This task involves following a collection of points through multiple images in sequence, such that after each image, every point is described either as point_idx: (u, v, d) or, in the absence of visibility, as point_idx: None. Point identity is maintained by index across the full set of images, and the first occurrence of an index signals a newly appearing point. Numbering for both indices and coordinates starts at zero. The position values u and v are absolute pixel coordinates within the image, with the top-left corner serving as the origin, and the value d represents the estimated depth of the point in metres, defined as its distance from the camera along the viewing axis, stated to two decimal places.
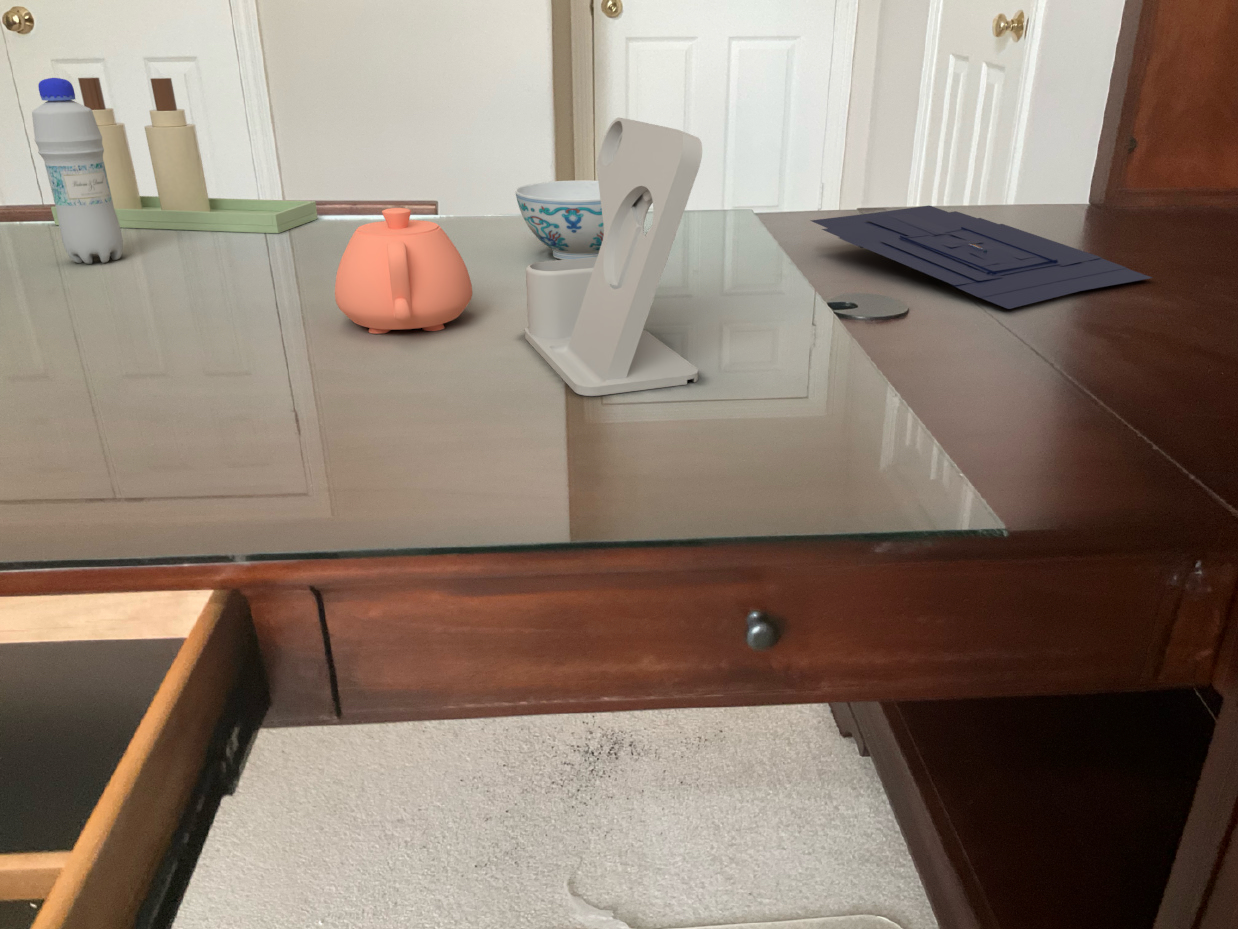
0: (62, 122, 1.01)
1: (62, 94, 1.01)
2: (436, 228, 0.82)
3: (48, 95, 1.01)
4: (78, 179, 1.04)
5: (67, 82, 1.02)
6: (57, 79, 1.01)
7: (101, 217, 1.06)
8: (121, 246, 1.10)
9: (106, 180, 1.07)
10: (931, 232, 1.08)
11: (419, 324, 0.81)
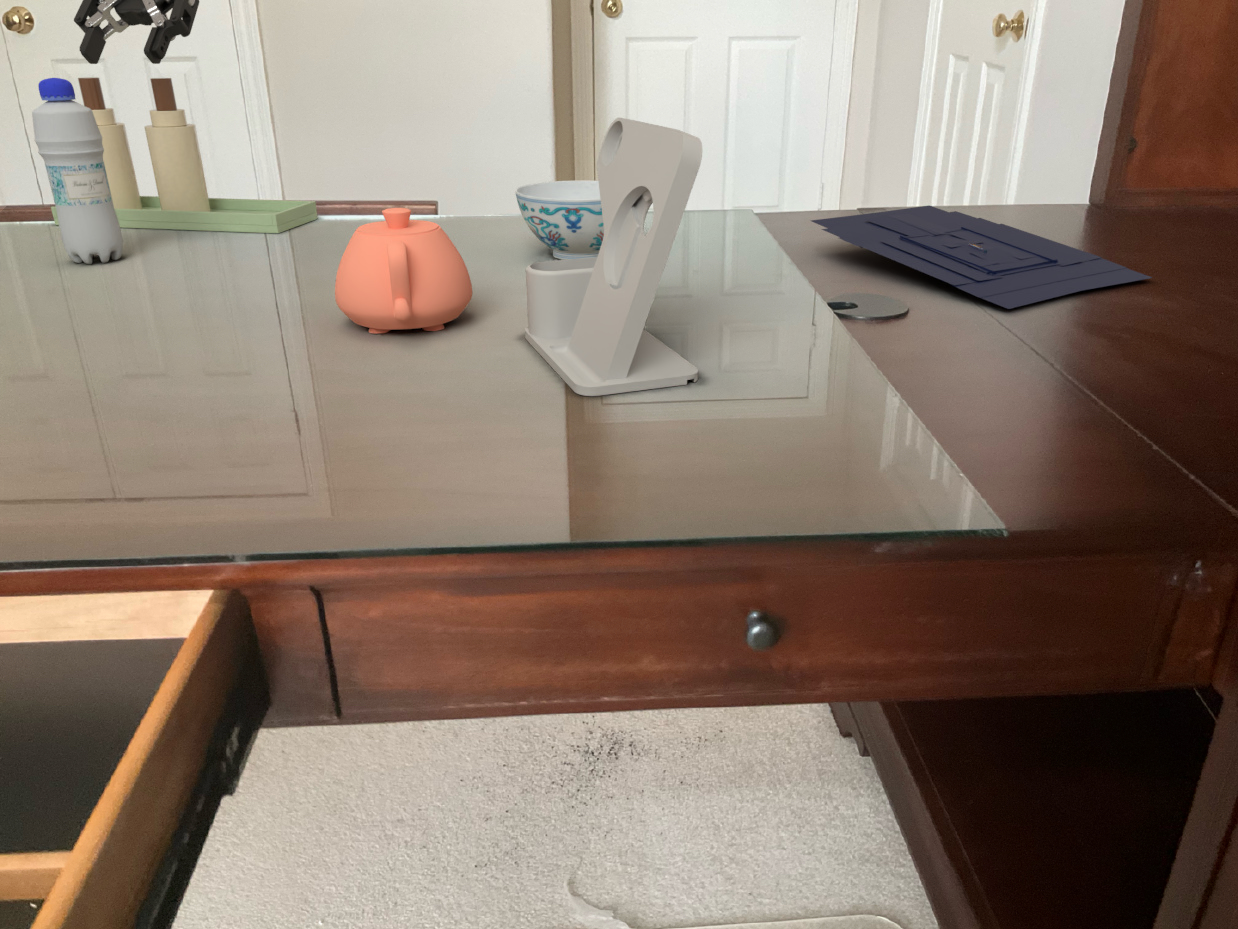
0: (62, 122, 1.01)
1: (62, 94, 1.01)
2: (436, 228, 0.82)
3: (48, 95, 1.01)
4: (78, 179, 1.04)
5: (67, 82, 1.02)
6: (57, 79, 1.01)
7: (101, 217, 1.06)
8: (121, 246, 1.10)
9: (106, 180, 1.07)
10: (931, 232, 1.08)
11: (419, 324, 0.81)
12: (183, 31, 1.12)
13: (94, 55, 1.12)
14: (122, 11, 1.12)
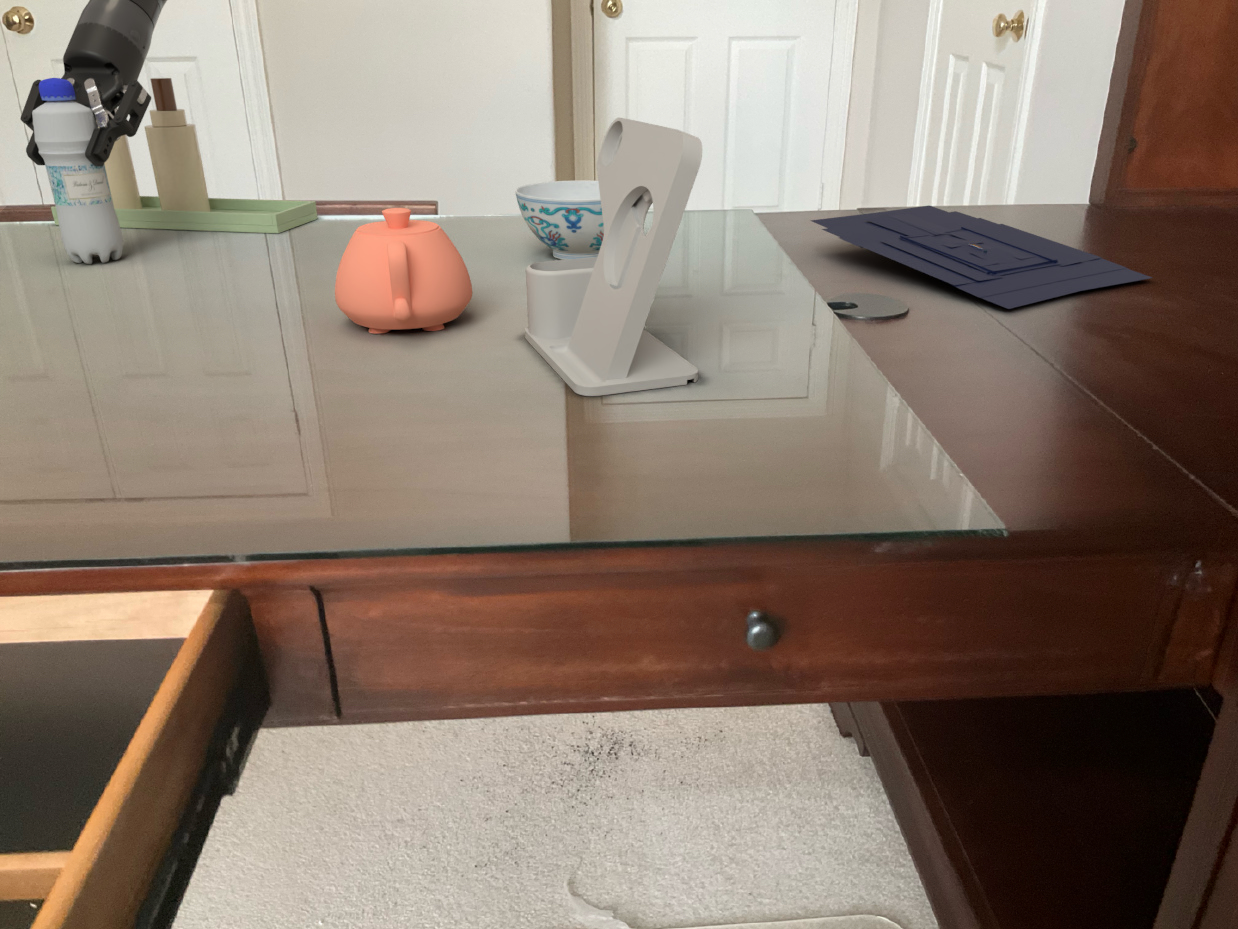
0: (62, 122, 1.01)
1: (62, 94, 1.01)
2: (436, 228, 0.82)
3: (48, 95, 1.01)
4: (78, 179, 1.04)
5: (67, 82, 1.02)
6: (57, 79, 1.01)
7: (101, 218, 1.06)
8: (121, 246, 1.10)
9: (106, 180, 1.07)
10: (931, 232, 1.08)
11: (419, 324, 0.81)
12: (128, 131, 1.05)
13: None
14: None
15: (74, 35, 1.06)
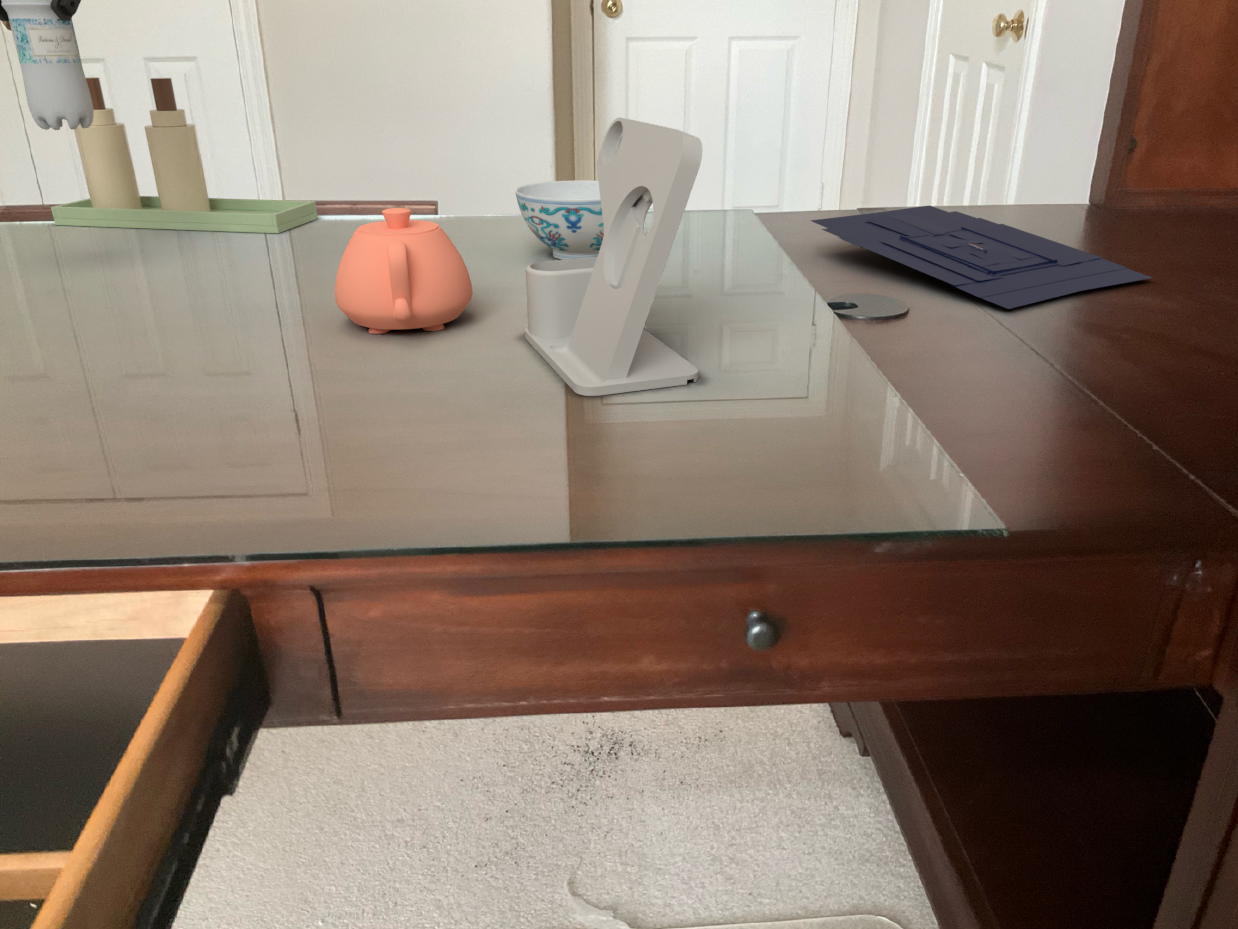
0: None
1: None
2: (436, 228, 0.82)
3: None
4: (43, 33, 0.98)
5: None
6: None
7: (69, 79, 1.00)
8: (91, 113, 1.04)
9: (74, 39, 1.01)
10: (931, 232, 1.08)
11: (419, 324, 0.81)
12: None
13: None
14: None
15: None
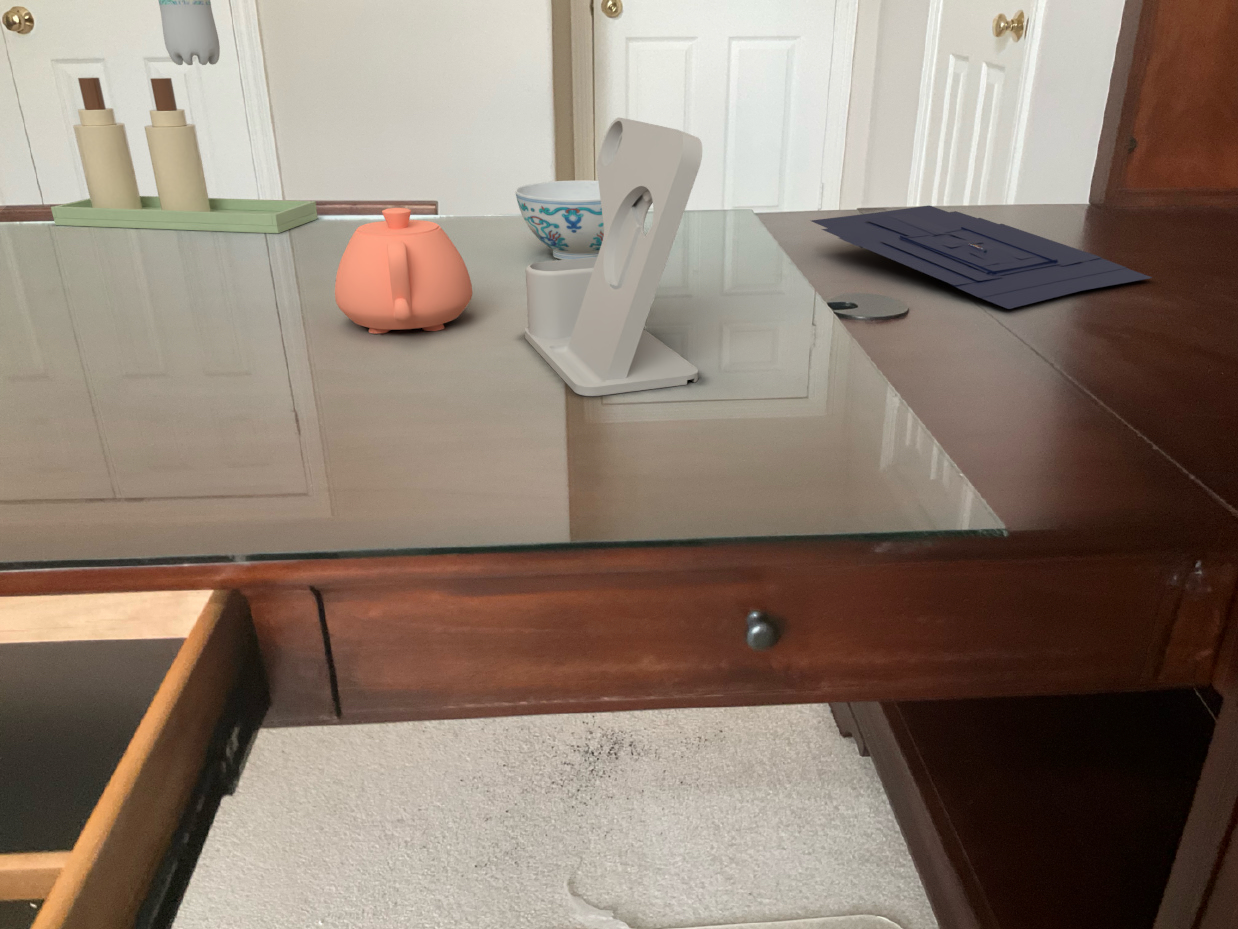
0: None
1: None
2: (436, 228, 0.82)
3: None
4: None
5: None
6: None
7: (202, 19, 1.14)
8: (218, 51, 1.17)
9: None
10: (931, 232, 1.08)
11: (419, 324, 0.81)
12: None
13: None
14: None
15: None
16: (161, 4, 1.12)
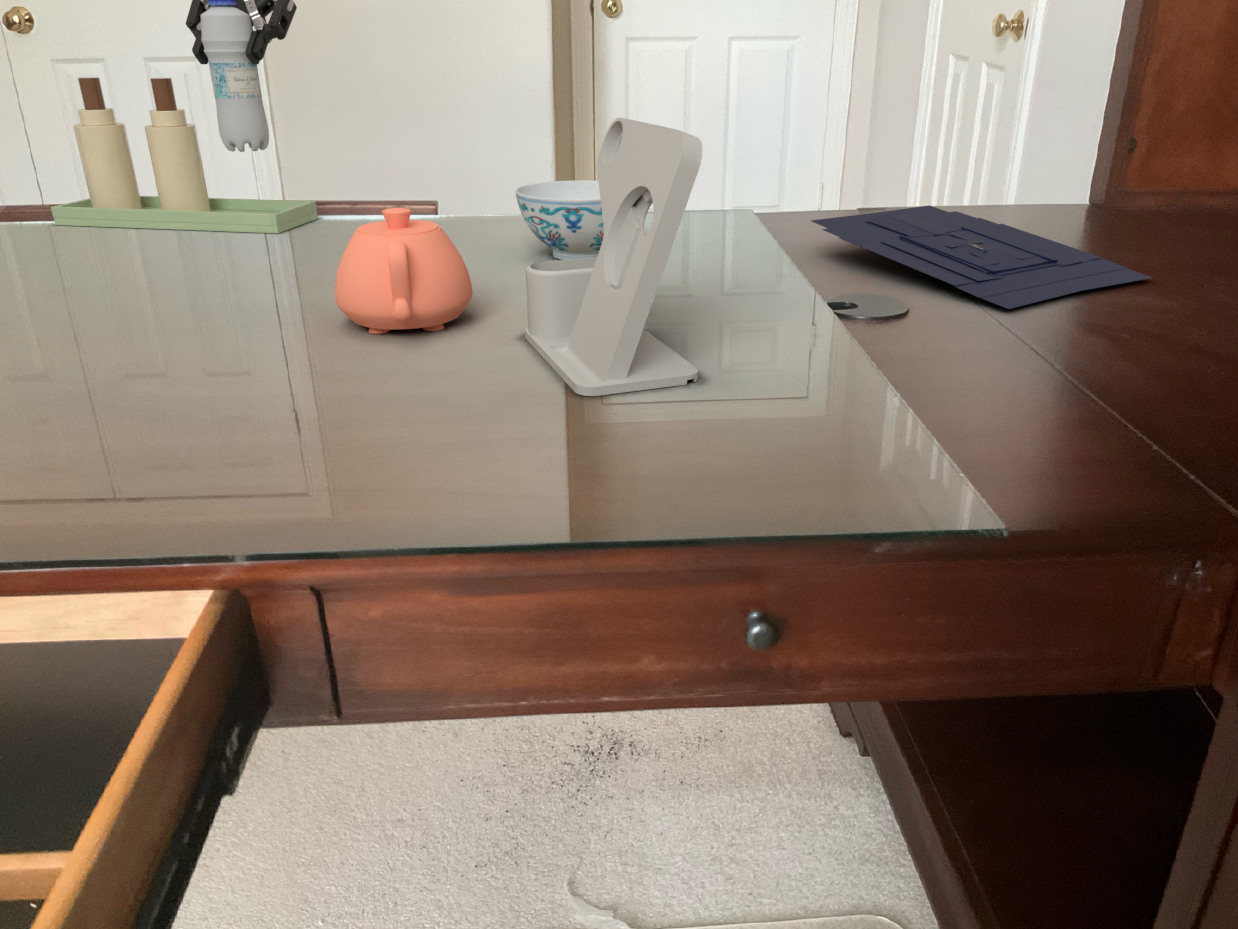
0: (228, 24, 1.18)
1: None
2: (436, 228, 0.82)
3: (216, 0, 1.17)
4: (238, 74, 1.20)
5: None
6: None
7: (254, 110, 1.23)
8: (268, 137, 1.26)
9: (258, 78, 1.23)
10: (931, 232, 1.08)
11: (419, 324, 0.81)
12: (280, 34, 1.21)
13: (205, 56, 1.22)
14: None
15: None
16: (217, 98, 1.22)
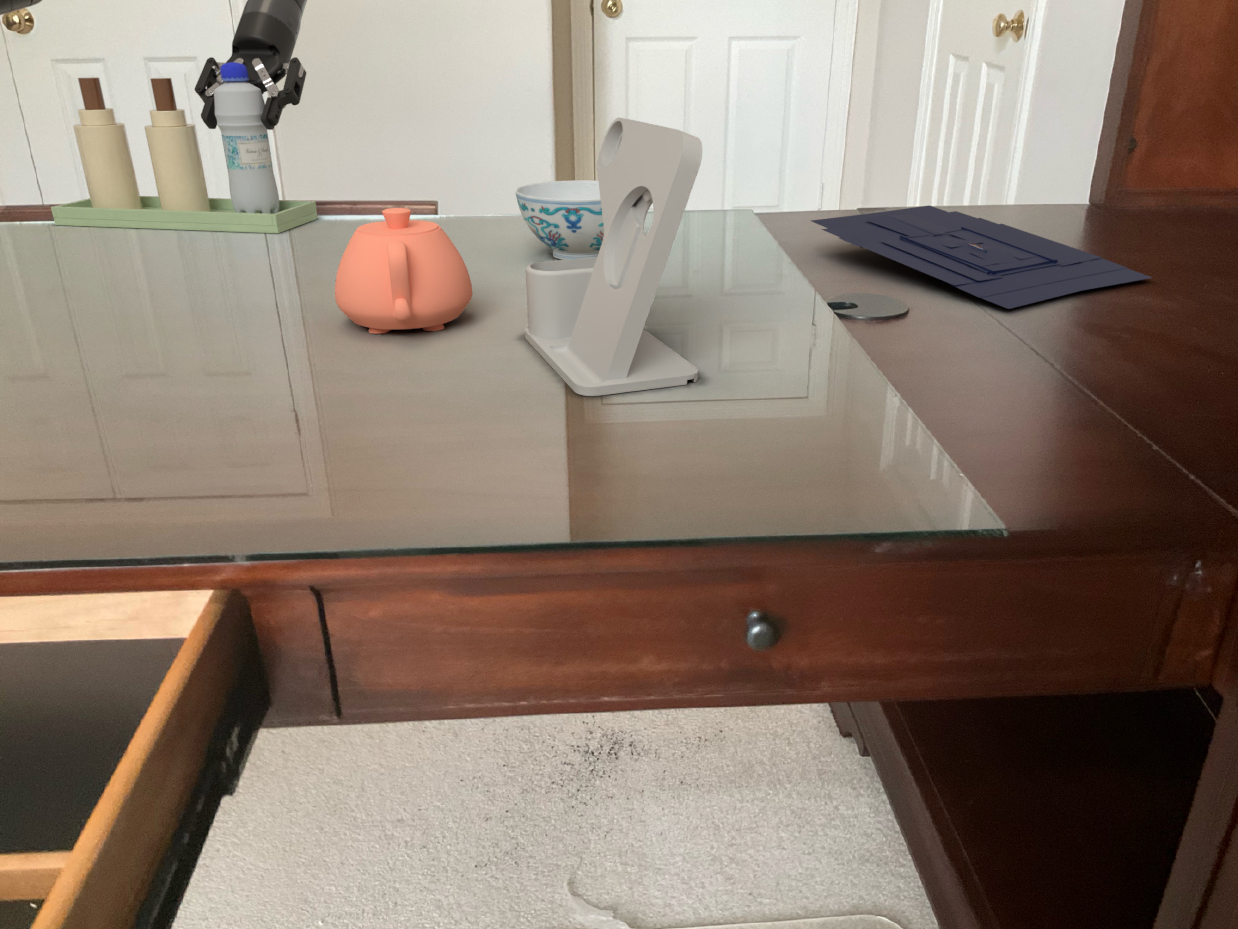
0: (241, 99, 1.22)
1: (240, 76, 1.22)
2: (436, 228, 0.82)
3: (229, 76, 1.21)
4: (250, 147, 1.24)
5: (243, 66, 1.22)
6: (236, 63, 1.22)
7: (265, 180, 1.27)
8: (278, 205, 1.30)
9: (269, 149, 1.27)
10: (931, 232, 1.08)
11: (419, 324, 0.81)
12: (294, 100, 1.25)
13: (213, 121, 1.25)
14: None
15: (242, 22, 1.26)
16: (229, 168, 1.26)
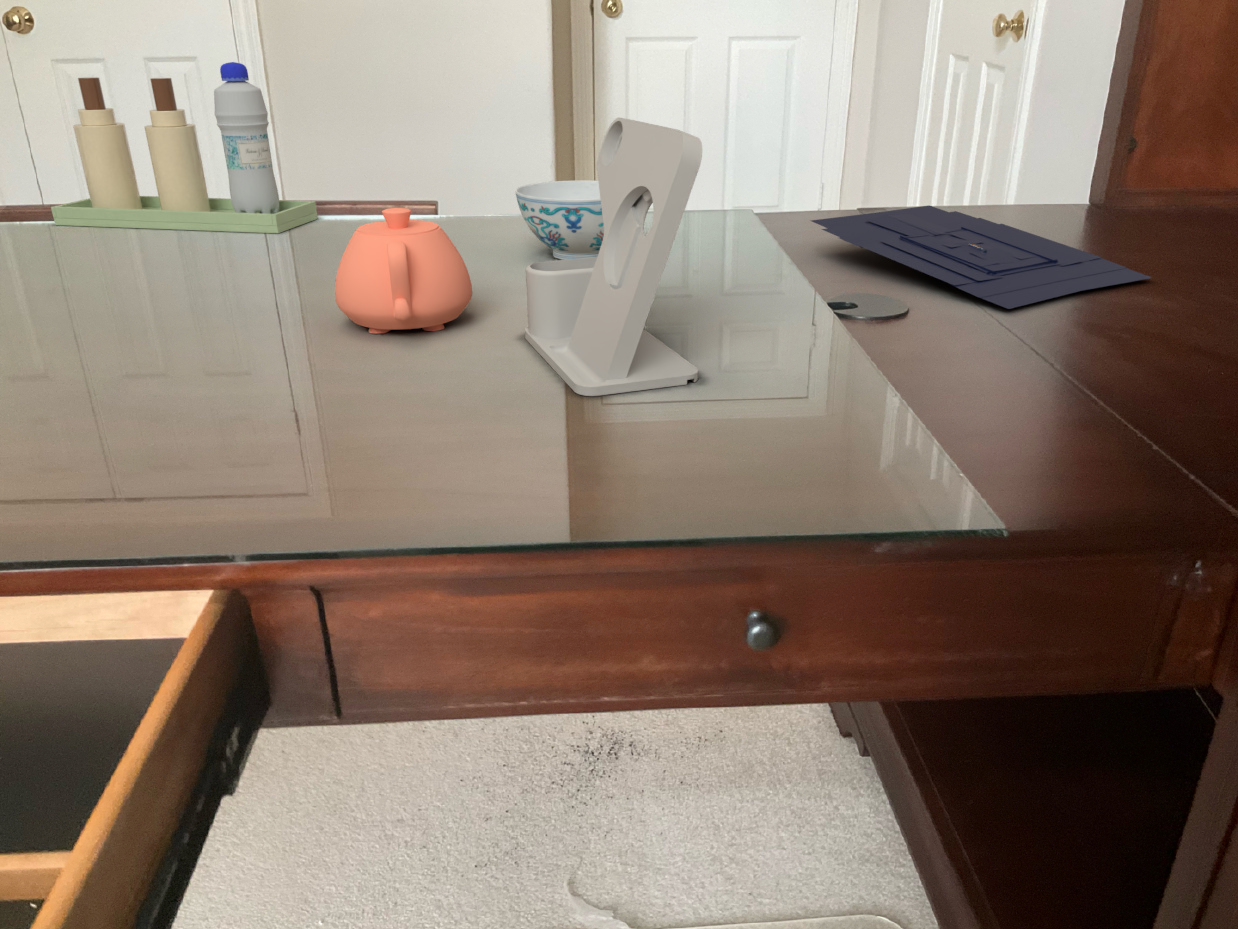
0: (240, 99, 1.22)
1: (240, 76, 1.22)
2: (436, 228, 0.82)
3: (229, 76, 1.21)
4: (249, 147, 1.24)
5: (243, 66, 1.22)
6: (236, 63, 1.22)
7: (265, 180, 1.27)
8: (278, 205, 1.30)
9: (269, 149, 1.27)
10: (931, 232, 1.08)
11: (419, 324, 0.81)
12: None
13: None
14: None
15: None
16: (229, 168, 1.26)
